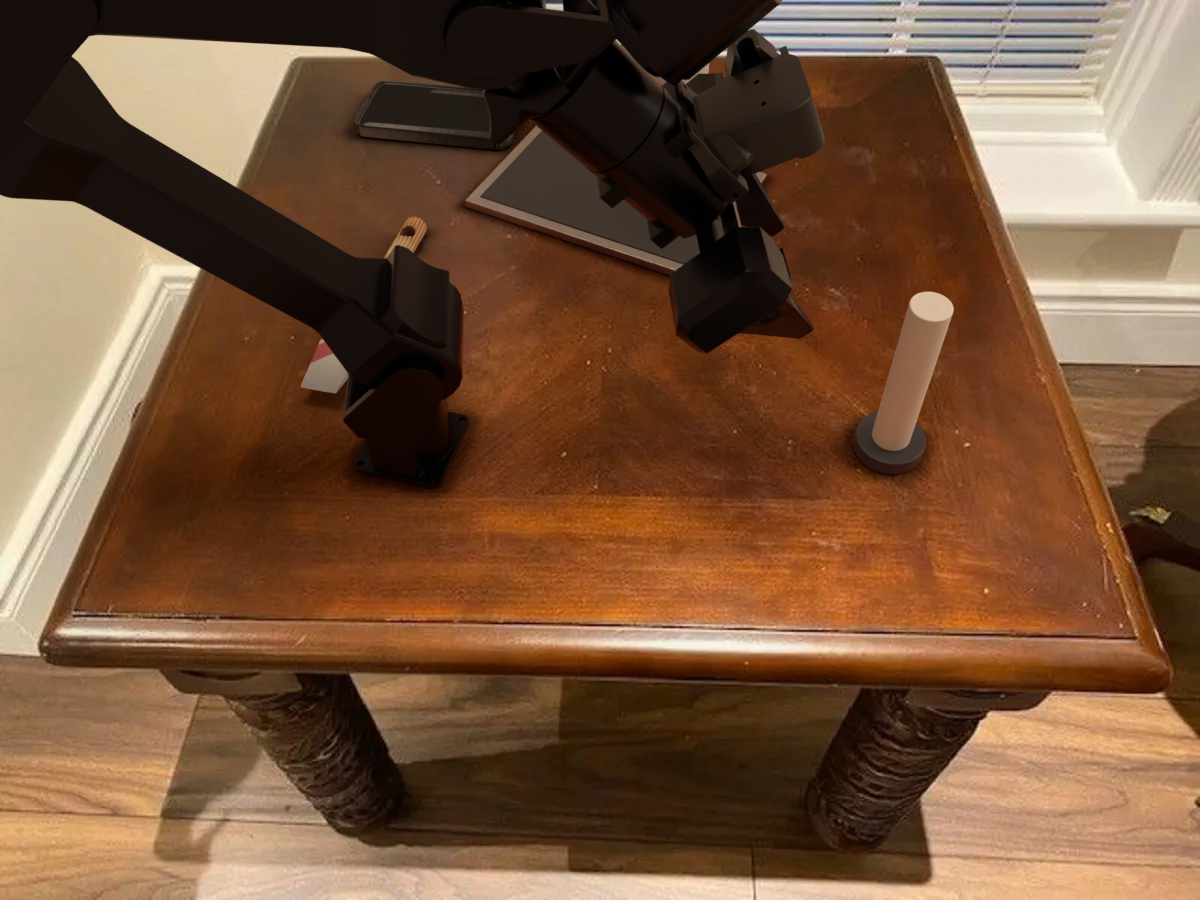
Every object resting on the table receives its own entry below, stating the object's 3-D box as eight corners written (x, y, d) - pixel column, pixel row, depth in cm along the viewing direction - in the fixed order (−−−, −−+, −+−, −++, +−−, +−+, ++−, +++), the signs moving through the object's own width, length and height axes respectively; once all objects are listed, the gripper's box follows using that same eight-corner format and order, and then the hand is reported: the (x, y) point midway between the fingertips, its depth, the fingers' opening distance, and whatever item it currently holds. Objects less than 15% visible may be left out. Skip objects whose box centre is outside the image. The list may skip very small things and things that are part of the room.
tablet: (766, 181, 91) (767, 172, 91) (695, 284, 83) (696, 276, 83) (550, 117, 98) (550, 109, 97) (465, 207, 90) (464, 199, 89)
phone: (507, 140, 94) (350, 125, 96) (508, 151, 95) (353, 135, 97) (527, 92, 99) (377, 78, 101) (528, 102, 100) (380, 88, 102)
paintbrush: (287, 371, 74) (394, 208, 87) (297, 398, 76) (399, 234, 89) (337, 380, 73) (437, 214, 86) (345, 407, 75) (441, 241, 88)
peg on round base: (919, 480, 71) (971, 340, 60) (849, 467, 71) (887, 326, 61) (924, 428, 73) (974, 285, 63) (856, 415, 74) (894, 273, 64)
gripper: (780, 136, 44) (953, 316, 54) (717, -68, 56) (868, 109, 65) (592, 279, 50) (778, 419, 59) (570, 66, 61) (729, 212, 71)
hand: (791, 279), depth 64 cm, fingers open, 9 cm apart
